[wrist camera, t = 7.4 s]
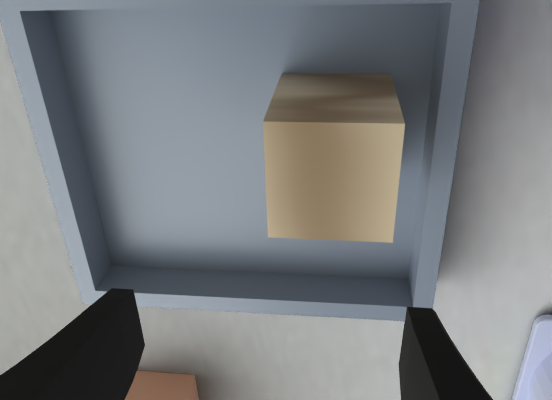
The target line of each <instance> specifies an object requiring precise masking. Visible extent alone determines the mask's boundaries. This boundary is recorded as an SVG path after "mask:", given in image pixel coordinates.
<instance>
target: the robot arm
mask: <svg viewBox="0 0 552 400" xmlns="http://www.w3.org/2000/svg"><path fill="white" fill-rule="evenodd" d="M144 346H145V343H144V339H143V334H142V329H141V324H140V319H139V314H138V309H137V304H136V299H135V294H134V290H133V289H119V288H111V289H110V290H109V291H108V292H106V293H105V294H104V295H103V296H101V297H100V298H99V299H98V300H97V301H95V302H94V303H93V304H92V305H91V306H90V307H88V308H87V309H86V310H85V311H84V312H82V313H81V314H80V315H79V316H78V317H76V318H75V319H74V320H73V321H72V322H70V323H69V324H68V325H67V326H65V327H64V328H63V329H62V330H61V331H59V332H58V333H57V334H56V335H54V336H53V337H52V338H51V339H49V340H48V341H47V342H45V343H44V344H43V345H41V346H40V347H39V348H38V349H36V350H35V351H34V352H32V353H31V354H30V355H28V356H27V357H26V358H24V359H23V360H22V361H20V362H19V363H18V364H16V365H15V366H13V367H12V368H10V369H9V370H8V371H6V372H5V373H3V374H2V375H0V400H125V398H126V396H127V393H128V391H129V389H130V387H131V385H132V383H133V380H134V377H135V374H136V371H137V369H138V366H139V362H140V359H141V356H142V353H143V349H144ZM399 374H400V389H401V400H493V399H492V398H491V396H490V395H489V394H488V393H487V391H486V390H485V389H484V387H483V386H482V384H481V383H480V382H479V380H478V379H477V378H476V376H475V375H474V373H473V372H472V370H471V369H470V367H469V366H468V365H467V363H466V362H465V360H464V359H463V357H462V356H461V354H460V353H459V351H458V350H457V348H456V346H455V345H454V343H453V342H452V340H451V338H450V337H449V335H448V333H447V332H446V330H445V328H444V327H443V325H442V323H441V321H440V319H439V318H438V316H437V314H436V312H435V311H434V310H433V309H432V308H421V307H407V310H406V317H405V324H404V331H403V339H402V346H401V353H400V360H399ZM512 400H552V315H542V316H539V317H538V318H536V319H535V321H534V323H533V327H532V330H531V334H530V337H529V341H528V344H527V347H526V351H525V354H524V358H523V361H522V365H521V368H520V372H519V375H518V379H517V382H516V386H515V389H514V393H513V396H512Z"/></svg>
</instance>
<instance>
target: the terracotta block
mask: <svg viewBox="0 0 552 400" xmlns="http://www.w3.org/2000/svg"><path fill="white" fill-rule="evenodd" d="M125 400H199V398H198V391H197V385H196V378H195V375H190V374H177V373H163V372H150V371H136V374H135V377H134V380H133V383H132V385H131V387H130V389H129V391H128V393H127V396H126V398H125Z"/></svg>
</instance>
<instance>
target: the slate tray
mask: <svg viewBox="0 0 552 400" xmlns="http://www.w3.org/2000/svg"><path fill="white" fill-rule="evenodd" d="M479 3H480V0H0V22H1V26H2V29H3V33H4V36H5V39H6V43H7V46H8V50H9V53H10V57H11V60H12V63H13V67H14V70H15V74H16V77H17V81H18V84H19V87H20V91H21V94H22V98H23V101H24V105H25V108H26V111H27V115H28V118H29V122H30V125H31V129H32V132H33V135H34V139H35V142H36V146H37V149H38V153H39V156H40V159H41V163H42V166H43V170H44V173H45V177H46V180H47V183H48V187H49V190H50V194H51V197H52V201H53V204H54V207H55V211H56V214H57V218H58V221H59V225H60V228H61V232H62V235H63V238H64V242H65V245H66V249H67V252H68V256H69V259H70V262H71V266H72V269H73V273H74V276H75V280H76V283H77V286H78V290H79V293H80V297H81V300H82V304H93V303H94V302H95V301H97V300H98V299H99V298H100V297H101V296H103V295H104V294H105V293H106V292H108V291H109V290H110V289H111V288H119V289H133V290H134V294H135V299H136V304H137V307H154V308H172V309H191V310H209V311H227V312H246V313H264V314H282V315H301V316H319V317H338V318H356V319H374V320H393V321H405V317H406V310H407V307H421V308H432V309H433V303H434V296H435V290H436V283H437V277H438V270H439V264H440V257H441V251H442V244H443V238H444V231H445V225H446V218H447V211H448V205H449V198H450V192H451V185H452V179H453V172H454V166H455V159H456V153H457V146H458V140H459V133H460V127H461V120H462V114H463V107H464V101H465V94H466V88H467V81H468V75H469V68H470V61H471V55H472V48H473V42H474V35H475V29H476V22H477V16H478V9H479ZM282 73H308V74H391V76H392V79H393V83H394V86H395V90H396V94H397V97H398V101H399V104H400V108H401V111H402V115H403V118H404V122H405V130H404V139H403V149H402V158H401V168H400V178H399V187H398V197H397V207H396V216H395V226H394V235H393V243H388V242H365V241H341V240H318V239H294V238H271V237H268V228H267V205H266V181H265V158H264V135H263V120H264V117H265V115H266V112H267V110H268V107H269V105H270V102H271V99H272V97H273V94H274V92H275V89H276V87H277V84H278V81H279V79H280V76H281V74H282Z"/></svg>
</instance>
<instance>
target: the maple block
mask: <svg viewBox="0 0 552 400" xmlns="http://www.w3.org/2000/svg"><path fill="white" fill-rule="evenodd" d="M404 130H405V122H404V118H403V115H402V111H401V108H400V104H399V101H398V97H397V94H396V90H395V86H394V83H393V79H392V76H391V74H308V73H282V74H281V76H280V79H279V81H278V84H277V87H276V89H275V92H274V94H273V97H272V99H271V102H270V105H269V107H268V110H267V112H266V115H265V117H264V120H263V135H264V158H265V181H266V205H267V228H268V237H271V238H294V239H318V240H341V241H365V242H388V243H393V235H394V226H395V216H396V207H397V197H398V187H399V178H400V168H401V158H402V149H403V139H404Z"/></svg>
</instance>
